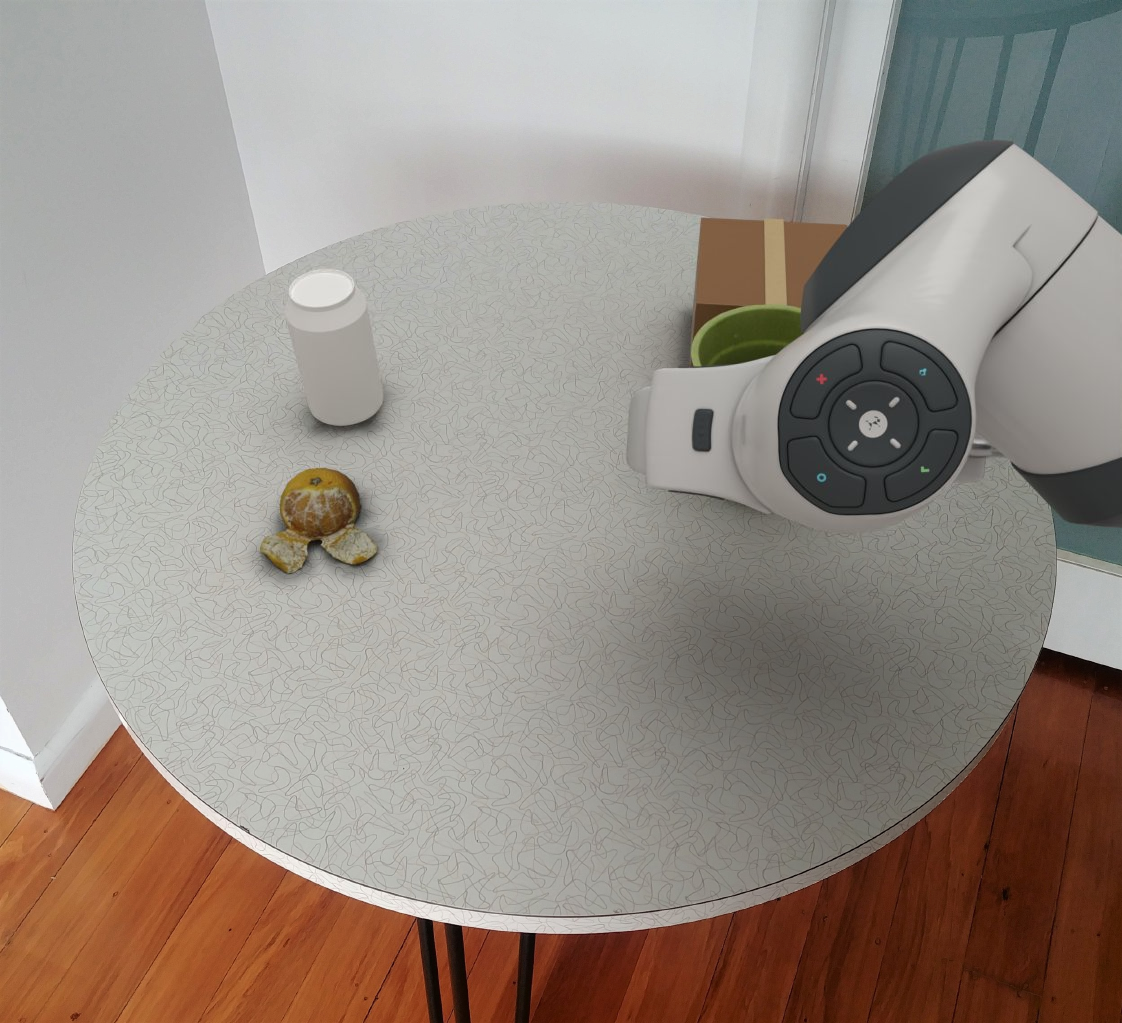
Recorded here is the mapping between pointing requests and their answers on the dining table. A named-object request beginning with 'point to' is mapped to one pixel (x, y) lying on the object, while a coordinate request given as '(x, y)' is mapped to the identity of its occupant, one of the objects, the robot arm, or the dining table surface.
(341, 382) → the beverage can
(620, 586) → the dining table surface
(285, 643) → the dining table surface
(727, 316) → the plant pot
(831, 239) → the carton
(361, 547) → the fruit
